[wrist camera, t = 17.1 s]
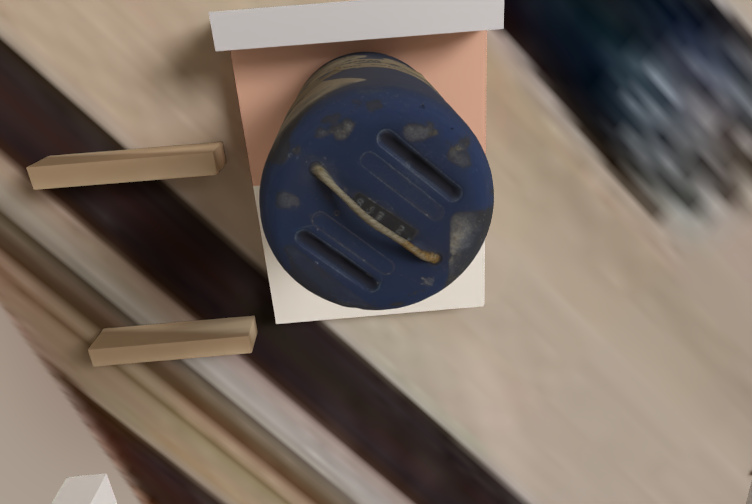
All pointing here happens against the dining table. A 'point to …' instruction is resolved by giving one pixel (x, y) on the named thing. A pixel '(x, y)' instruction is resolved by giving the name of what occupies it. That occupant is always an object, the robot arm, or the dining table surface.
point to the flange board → (337, 38)
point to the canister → (374, 186)
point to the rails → (145, 166)
